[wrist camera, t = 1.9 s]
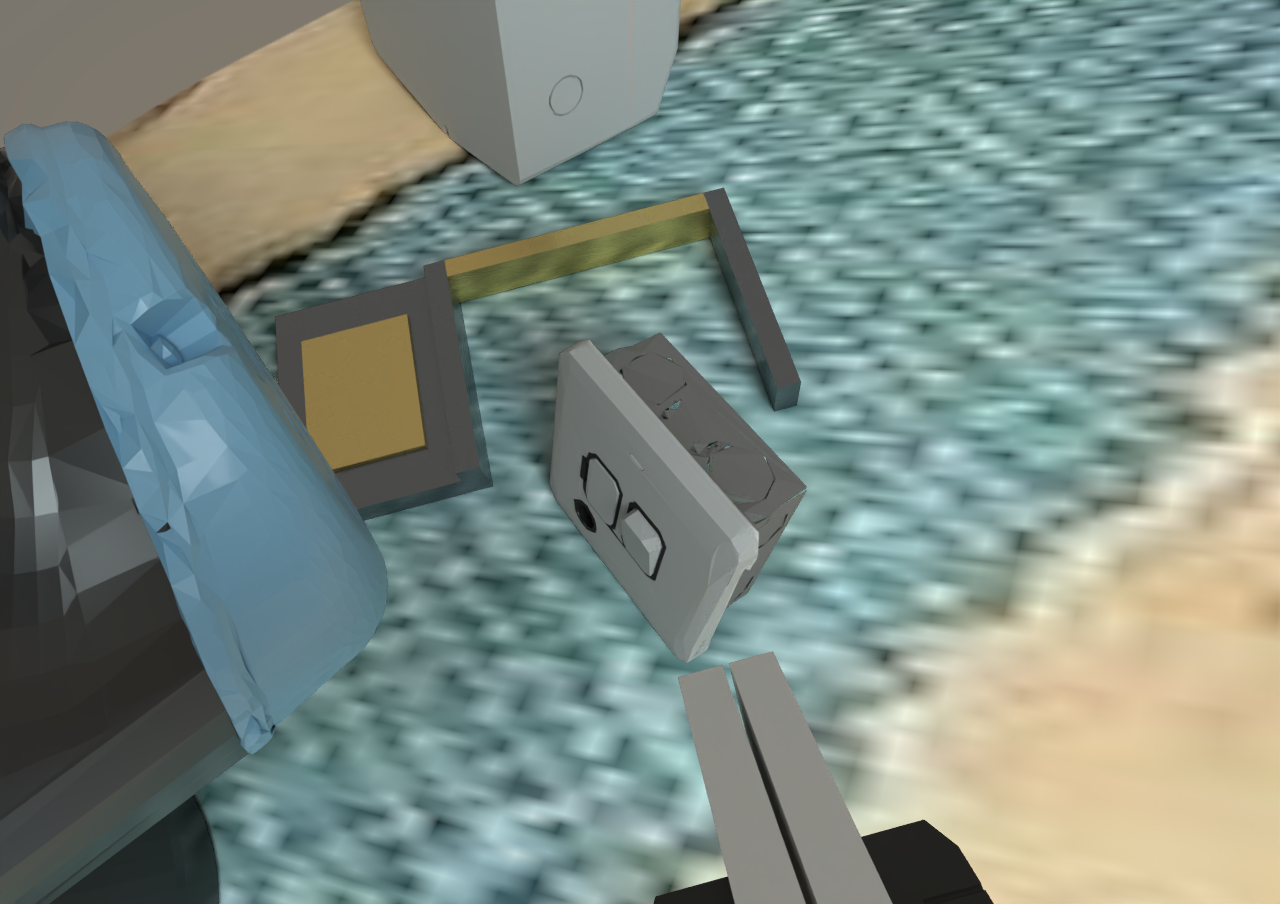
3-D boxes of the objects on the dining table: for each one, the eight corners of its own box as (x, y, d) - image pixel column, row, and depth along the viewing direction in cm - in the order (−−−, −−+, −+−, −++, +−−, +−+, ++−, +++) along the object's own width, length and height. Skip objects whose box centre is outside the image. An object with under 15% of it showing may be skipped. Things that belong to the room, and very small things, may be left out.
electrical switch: (548, 493, 33) (513, 367, 25) (646, 429, 35) (643, 290, 26) (685, 672, 30) (696, 593, 21) (788, 593, 31) (836, 490, 23)
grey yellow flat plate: (299, 537, 33) (275, 521, 32) (288, 330, 38) (266, 306, 36) (796, 405, 34) (801, 381, 32) (723, 217, 39) (723, 187, 37)
